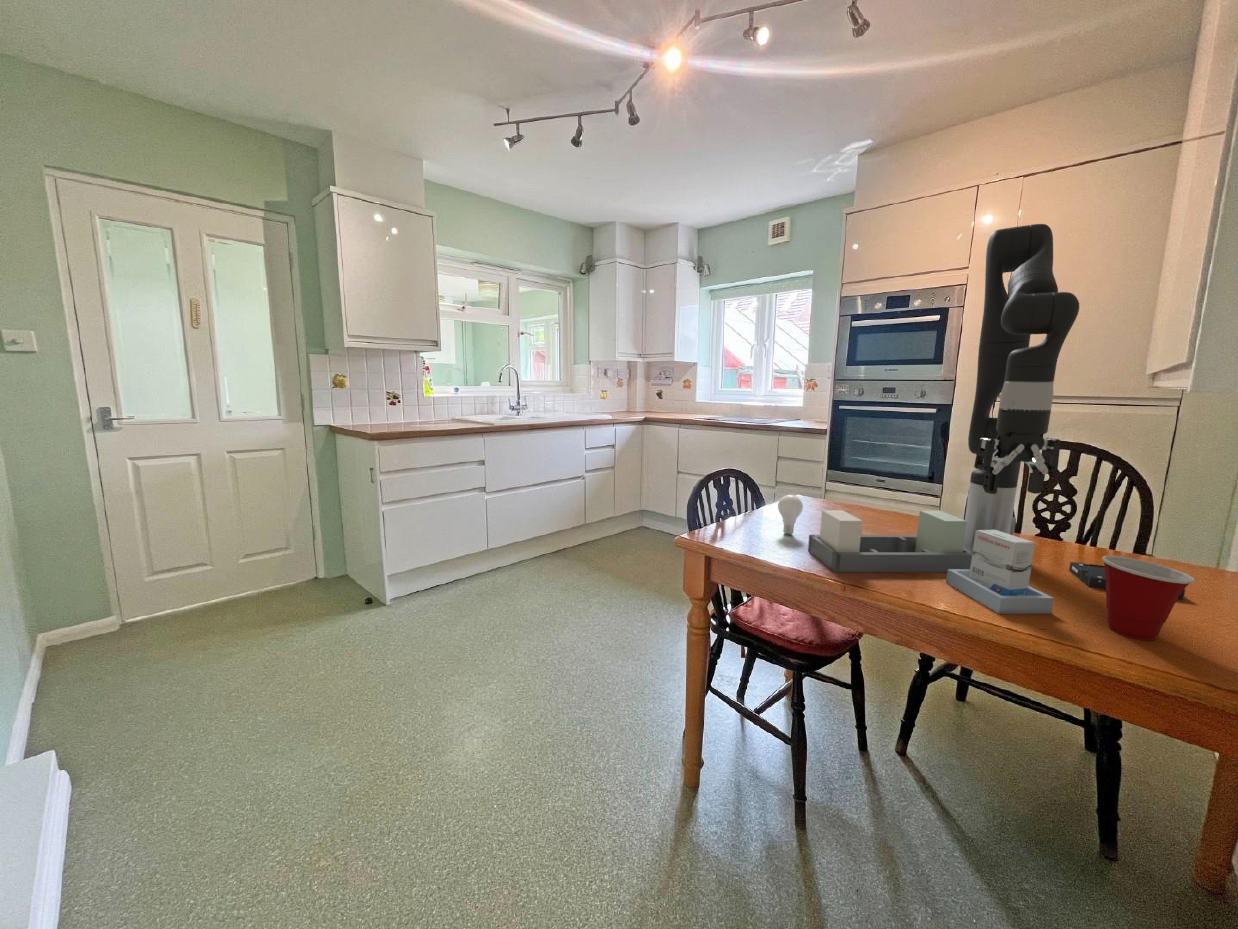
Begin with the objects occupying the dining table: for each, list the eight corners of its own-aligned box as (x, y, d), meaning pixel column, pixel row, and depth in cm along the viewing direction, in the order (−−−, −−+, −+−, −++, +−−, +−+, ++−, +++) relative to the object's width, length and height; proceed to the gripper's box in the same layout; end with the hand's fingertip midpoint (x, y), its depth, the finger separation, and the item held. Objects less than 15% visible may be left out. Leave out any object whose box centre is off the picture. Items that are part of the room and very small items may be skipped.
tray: (992, 582, 106) (994, 569, 105) (1051, 613, 92) (1054, 598, 91) (945, 582, 105) (947, 569, 105) (998, 613, 91) (1001, 598, 91)
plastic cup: (1199, 654, 79) (1216, 581, 77) (1115, 643, 82) (1129, 573, 80) (1149, 622, 89) (1162, 557, 87) (1075, 613, 92) (1087, 551, 90)
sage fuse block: (934, 554, 123) (940, 510, 121) (960, 568, 114) (967, 521, 112) (914, 554, 123) (919, 510, 121) (939, 568, 114) (945, 521, 112)
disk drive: (1088, 590, 104) (1184, 602, 99) (1090, 577, 104) (1187, 589, 98) (1067, 573, 114) (1154, 583, 108) (1069, 561, 113) (1156, 570, 108)
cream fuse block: (838, 554, 122) (842, 510, 120) (857, 568, 113) (862, 520, 111) (818, 554, 122) (822, 510, 120) (835, 568, 113) (840, 520, 111)
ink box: (1027, 601, 95) (1037, 541, 93) (1006, 603, 94) (1015, 543, 92) (986, 583, 103) (994, 528, 101) (966, 585, 102) (974, 529, 100)
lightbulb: (803, 538, 134) (807, 498, 132) (779, 537, 134) (782, 497, 132) (796, 531, 140) (799, 492, 138) (773, 530, 140) (775, 492, 138)
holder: (933, 550, 125) (935, 535, 125) (975, 571, 112) (977, 554, 111) (807, 550, 124) (809, 534, 123) (834, 572, 110) (836, 554, 109)
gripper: (1043, 405, 96) (1030, 488, 99) (972, 405, 95) (961, 488, 98) (1081, 408, 89) (1066, 497, 92) (1003, 408, 88) (990, 498, 91)
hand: (1011, 493), depth 95 cm, fingers open, 8 cm apart
